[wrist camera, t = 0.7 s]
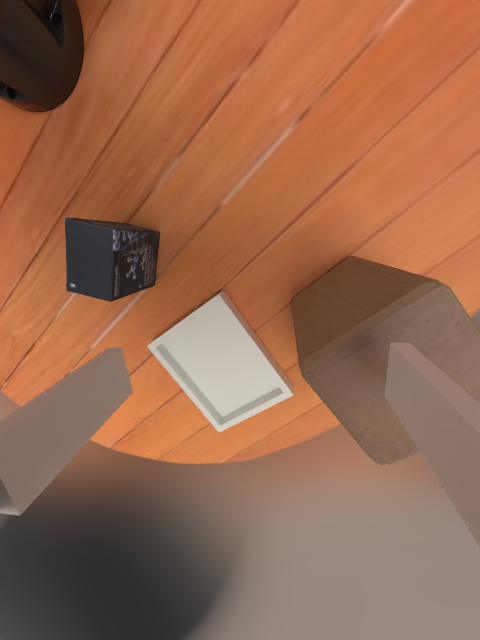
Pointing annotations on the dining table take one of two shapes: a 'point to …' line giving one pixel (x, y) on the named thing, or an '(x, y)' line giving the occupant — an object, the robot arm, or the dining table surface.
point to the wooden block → (378, 345)
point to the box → (109, 258)
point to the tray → (222, 363)
